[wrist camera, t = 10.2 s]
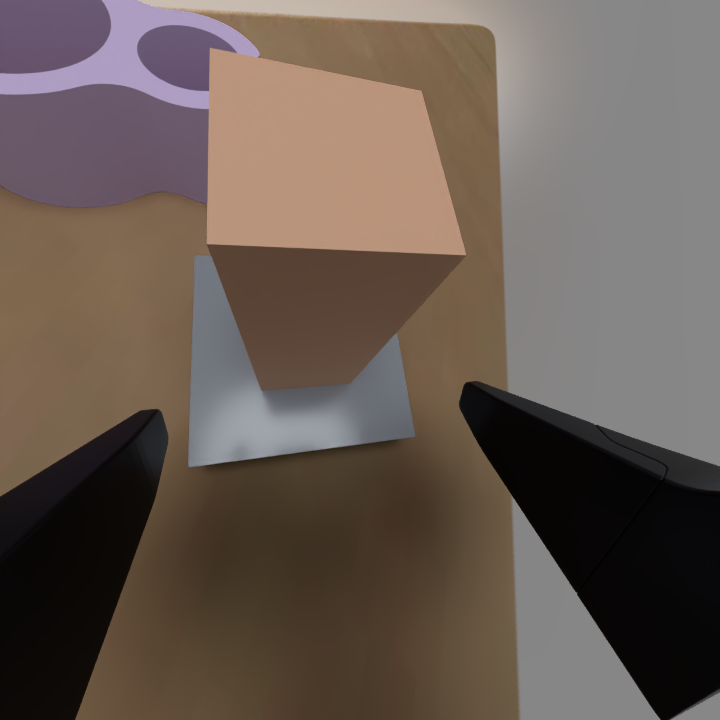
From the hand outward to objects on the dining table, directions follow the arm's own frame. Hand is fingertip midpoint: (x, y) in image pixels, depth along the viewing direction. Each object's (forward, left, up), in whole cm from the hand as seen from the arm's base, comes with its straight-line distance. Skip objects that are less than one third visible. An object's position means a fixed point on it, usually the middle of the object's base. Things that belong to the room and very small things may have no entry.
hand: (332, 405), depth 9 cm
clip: (+17, +19, -11) cm, 28 cm away
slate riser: (+5, +2, -11) cm, 12 cm away
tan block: (+4, +2, -8) cm, 9 cm away
